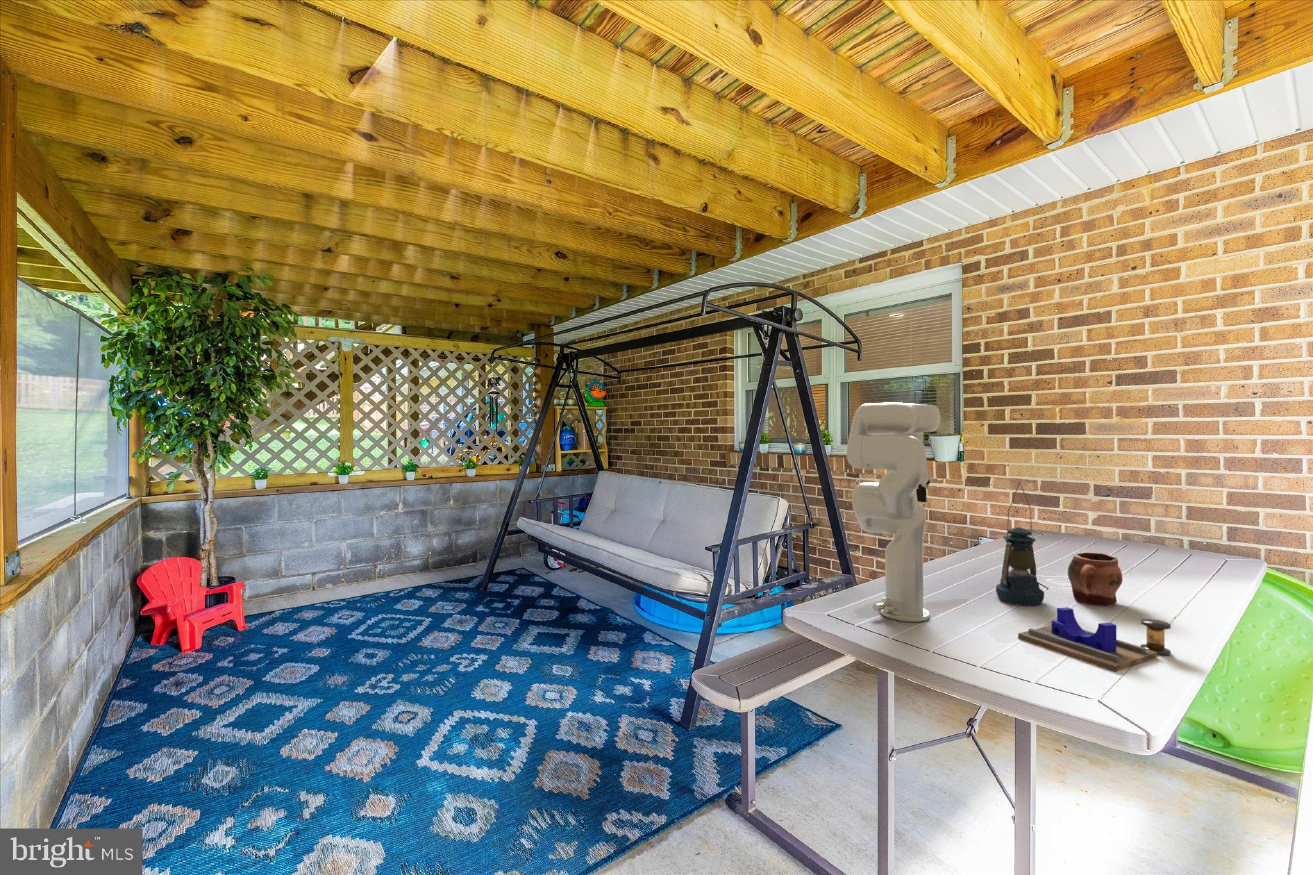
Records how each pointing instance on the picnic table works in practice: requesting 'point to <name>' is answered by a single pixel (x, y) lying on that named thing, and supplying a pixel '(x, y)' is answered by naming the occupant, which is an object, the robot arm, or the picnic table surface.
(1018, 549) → the lantern
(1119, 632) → the picnic table surface
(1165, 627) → the copper spool
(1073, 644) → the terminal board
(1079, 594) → the decorative planter
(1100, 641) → the blue cradle block
